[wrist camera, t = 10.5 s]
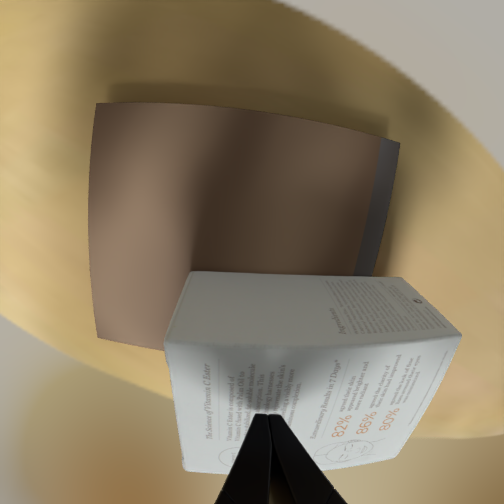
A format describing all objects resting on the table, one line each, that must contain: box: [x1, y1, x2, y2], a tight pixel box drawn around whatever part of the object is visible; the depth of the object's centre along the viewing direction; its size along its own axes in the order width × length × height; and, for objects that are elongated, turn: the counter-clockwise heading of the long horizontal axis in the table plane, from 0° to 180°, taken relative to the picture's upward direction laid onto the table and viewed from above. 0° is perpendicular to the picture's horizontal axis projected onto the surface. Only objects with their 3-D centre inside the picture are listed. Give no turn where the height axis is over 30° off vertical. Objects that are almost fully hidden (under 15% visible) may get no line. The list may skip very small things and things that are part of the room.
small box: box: [164, 271, 462, 474], centre depth 12 cm, size 8×6×10 cm
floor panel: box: [88, 102, 400, 351], centre depth 14 cm, size 14×12×2 cm
